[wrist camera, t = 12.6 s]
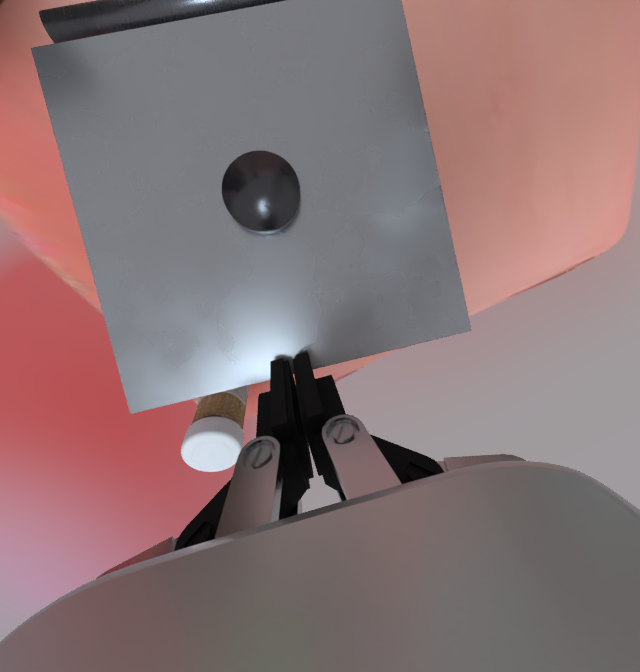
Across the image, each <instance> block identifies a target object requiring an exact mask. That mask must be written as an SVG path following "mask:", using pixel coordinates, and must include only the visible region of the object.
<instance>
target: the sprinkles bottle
mask: <svg viewBox="0 0 640 672" xmlns="http://www.w3.org/2000/svg"><path fill="white" fill-rule="evenodd" d="M248 391H249V385H247V386H243V387H238V388H234V389H230V390H226V391H222V392H218V393H214V394H210V395H206V396H202V397H200V400H199V402H198V405H197V410H196V413H195V416H194V420H193V422H192V424H191V425H190V427H189V428H188V430H187V432H186V435H185V438H184V441H183V444H182V447H181V455H182V458H183V460H184V461H185V462H186V463H187V464H188V465H189V466H190V467H192V468H194V469H197V470H200V471H207V472H216V471H221V470H224V469H227V468H229V467H231V466H233V465H234V464H235V463H236V462H237V459H238V456H239V453H240V451H241V450H242V448H243V439H244V433H243V423H244V416H245V410H246V402H247V398H248Z"/></svg>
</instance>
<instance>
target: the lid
mask: <svg viewBox="0 0 640 672" xmlns="http://www.w3.org/2000/svg"><path fill="white" fill-rule="evenodd" d="M39 15H40V18H41V21H42V23H43V25H44V27H45V29H46V31H47V33H48V34H49V36H50V38H51V39H52V40H53V42H54V43H55V44H50V45H45V46H39V47H34V48H31V50H32V54H33V57H34V61H35V65H36V68H37V72H38V76H39V80H40V83H41V87H42V91H43V94H44V98H45V102H46V105H47V109H48V113H49V116H50V120H51V124H52V127H53V131H54V135H55V138H56V142H57V146H58V149H59V153H60V157H61V160H62V164H63V168H64V171H65V175H66V179H67V182H68V186H69V190H70V194H71V197H72V201H73V205H74V208H75V212H76V216H77V219H78V223H79V227H80V230H81V234H82V238H83V241H84V245H85V249H86V252H87V256H88V260H89V263H90V267H91V271H92V274H93V278H94V282H95V285H96V289H97V293H98V297H99V300H100V304H101V308H102V311H103V315H104V319H105V322H106V326H107V330H108V333H109V337H110V341H111V344H112V348H113V351H114V355H115V359H116V363H117V366H118V370H119V374H120V377H121V381H122V385H123V388H124V392H125V396H126V400H127V403H128V407H129V410H130V413H131V414H132V413H136V412H140V411H144V410H148V409H152V408H156V407H161V406H164V405H168V404H173V403H177V402H181V401H185V400H189V399H193V398H197V397H202V396H206V395H210V394H214V393H218V392H222V391H226V390H230V389H234V388H238V387H243V386H247V385H251V384H255V383H259V382H263V381H267V380H270V361H273V360H277V359H281V358H283V360H284V361H286V360H288V361H289V365H290V368H291V371H292V374H294V367H293V360H292V359H294V358H297V356H296V354H300V353H304V352H308V354H309V358H310V362H311V366H312V369H316V368H320V367H325V366H329V365H333V364H337V363H341V362H345V361H349V360H353V359H357V358H361V357H365V356H370V355H374V354H378V353H382V352H386V351H390V350H394V349H398V348H402V347H406V346H411V345H415V344H419V343H423V342H427V341H431V340H435V339H439V338H443V337H447V336H452V335H455V334H460V333H464V332H468V331H471V326H470V321H469V317H468V312H467V307H466V302H465V298H464V293H463V288H462V284H461V279H460V274H459V269H458V265H457V260H456V255H455V251H454V246H453V241H452V237H451V232H450V227H449V222H448V218H447V213H446V208H445V204H444V199H443V194H442V189H441V185H440V180H439V175H438V171H437V166H436V161H435V156H434V152H433V147H432V142H431V138H430V133H429V128H428V123H427V119H426V114H425V109H424V105H423V100H422V95H421V91H420V86H419V81H418V76H417V72H416V67H415V62H414V58H413V53H412V48H411V43H410V39H409V34H408V29H407V25H406V20H405V15H404V10H403V6H402V1H401V0H96V1H91V2H85V3H80V4H74V5H69V6H63V7H58V8H52V9H47V10H41V11H40V12H39Z"/></svg>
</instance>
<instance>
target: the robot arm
mask: <svg viewBox="0 0 640 672" xmlns="http://www.w3.org/2000/svg"><path fill="white" fill-rule="evenodd" d="M296 356H297V358H294V359H292V360H293V367H294V374H295V381H296V384H295V381H294V378H293V374H292V371H291V368H290V365H289V361H288V360H286V361H284V360H283V358H281V359H277V360H273V361H270V391H269V392H265V393H261V394H259V398H258V415H257V433H256V438H255V439H253V440H251V441H250V442H248V443H247V444H246V445H245V446H244V447H243V448H242V450H241V451H240V453H239V456H238V459H237V462H236V466H235V469H234V473H233V477H232V478H231V480H230V481H229V482H228V483H227V484H226V485H225V486H224V487H223V488H222V489H221V490H220V491H219V492H218V493H217V494H216V496H215V497H214V498H213V499H212V500H211V501H210V502H209V503H208V504H207V505H206V506H205V507H204V508H203V509H202V510H201V511H200V513H199V514H198V515H197V516H196V517H195V518H194V519H193V520H192V521H191V522H190V523H189V524H188V525H187V527H186V528H185V529H184V530H183V532H182V533H181V535H180V536H179V537H178V538H176V539H174V538H173V537H171V538H169V539H167V540H165V541H163V542H161V543H159V544H157V545H155V546H153V547H151V548H149V549H147V550H146V551H144V552H142V553H140V554H138V555H136V556H134V557H132V558H130V559H128V560H126V561H125V562H123V563H121V564H119V565H117V566H115V567H113V568H111V569H109V570H108V571H106V572H105V573H103V574H101V575H100V576H99V577H97V578H96V579H95V580H93V581H91V582H89V583H86V584H84V585H82V586H80V587H79V588H77V589H75V590H73V591H71V592H70V593H68V594H66V595H64V596H62V597H60V598H59V599H57V600H56V601H54V602H53V603H51V604H50V605H48V606H46V607H45V608H44V609H42V610H40V611H39V612H37V613H36V614H34V615H33V616H31V617H30V618H29V619H27V620H26V621H25V622H23V623H22V624H21V625H20V626H18V627H17V628H16V629H15V630H14V631H12V632H11V633H10V634H9V635H8V636H6V637H5V638H4V639H3V640H2V641H1V642H0V672H640V510H639V509H638V508H636V507H635V506H633V505H632V504H631V503H629V502H628V501H627V500H625V499H624V498H623V497H621V496H620V495H618V494H617V493H616V492H614V491H613V490H611V489H610V488H608V487H607V486H605V485H604V484H602V483H600V482H599V481H597V480H595V479H594V478H592V477H590V476H588V475H585V474H584V473H581V472H580V471H577V470H574V469H571V468H568V467H564V466H560V465H555V464H549V463H543V462H530V461H526V460H524V459H522V458H520V457H517V456H514V455H505V454H500V455H482V456H466V457H449V458H444V461H438V462H436V461H435V460H433V459H431V458H429V457H427V456H425V455H422V454H420V453H417V452H414V451H412V450H409V449H406V448H404V447H401V446H399V445H396V444H394V443H391V442H388V441H385V440H383V439H381V438H378V437H375V436H373V435H370V434H369V433H368V431H367V430H366V428H365V426H364V425H363V424H362V422H361V421H360V420H359V419H358V418H356V417H354V416H352V415H347V414H346V413H345V411H344V408H343V405H342V402H341V400H340V397H339V394H338V391H337V388H336V386H335V383H334V380H333V377H332V375H329V376H325V377H322V378H318V379H315V378H314V374H313V370H312V366H311V362H310V358H309V354H308V352H304V353H300V354H296ZM308 443H309V444H308ZM309 446H310V450H311V453H312V456H313V459H314V462H315V466H316V469H317V472H318V475H319V476H321V475H323V478H324V481H325V484H326V485H328V486H330V487H332V488H333V489H335V490H337V493H338V496H339V498H340V501H341V502H339V503H336V504H332V505H329V506H325V507H322V508H318V509H315V510H311V511H308V512H305V513H302V502H301V497H302V496H303V494H304V493H305V492H306V490H307V489H309V488H310V484H309V479H310V478H313V469H312V463H311V457H310V451H309Z"/></svg>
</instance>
